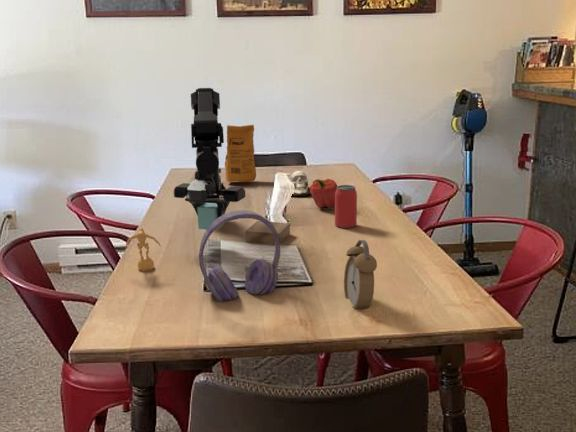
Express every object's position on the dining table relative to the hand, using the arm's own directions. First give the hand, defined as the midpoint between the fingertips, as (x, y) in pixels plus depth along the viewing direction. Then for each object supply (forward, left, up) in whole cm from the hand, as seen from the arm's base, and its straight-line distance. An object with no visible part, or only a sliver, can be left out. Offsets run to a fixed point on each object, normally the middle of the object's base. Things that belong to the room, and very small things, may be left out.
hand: (210, 223), depth 172 cm
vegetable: (+18, +50, -8) cm, 54 cm away
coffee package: (-25, +80, -8) cm, 85 cm away
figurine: (-8, -22, -8) cm, 24 cm away
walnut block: (+12, +12, -8) cm, 19 cm away
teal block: (0, 0, -1) cm, 1 cm away
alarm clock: (+47, -26, -8) cm, 54 cm away
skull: (+7, +68, -9) cm, 69 cm away
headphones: (+21, -29, -8) cm, 37 cm away
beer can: (+30, +31, -8) cm, 44 cm away
